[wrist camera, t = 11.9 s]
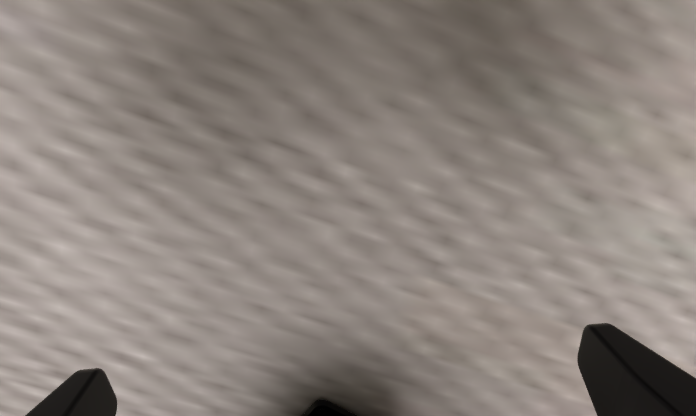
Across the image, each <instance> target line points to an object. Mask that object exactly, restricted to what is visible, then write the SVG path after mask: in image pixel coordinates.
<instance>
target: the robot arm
mask: <svg viewBox="0 0 696 416" xmlns="http://www.w3.org/2000/svg"><path fill="white" fill-rule="evenodd" d="M578 366H579V369H580V372H581V374H582V377H583V380H584V382H585V385H586V387H587V390H588V393H589V395H590V398H591V400H592V403H593V406H594V408H595V411H596V413H597V416H696V378H694V377H693V376H691V375H690V374H688V373H687V372H685V371H683V370H682V369H680V368H679V367H677V366H676V365H674V364H673V363H671V362H669V361H668V360H666V359H665V358H663V357H662V356H660V355H658V354H657V353H655V352H654V351H652V350H651V349H649V348H647V347H646V346H644V345H643V344H641V343H640V342H638V341H637V340H635V339H633V338H632V337H630V336H629V335H627V334H626V333H624V332H622V331H621V330H619V329H618V328H616V327H615V326H613V325H611V324H608V323H601V324H590V325H587V326H586V327H585V328H584V330H583V334H582V339H581V343H580V347H579V352H578ZM320 409H324V410H320ZM116 410H117V399H116V395H115V393H114V391H113V389H112V387H111V385H110V382H109V380H108V378H107V376H106V374H105V372H104V371H103V370H102V369H99V368H95V369H84V370H79V371H77V372H75V373H74V374H73V375H72V376H70V377H69V378H68V379H67V380H66V381H65V382H63V383H62V384H61V385H60V386H59V387H58V388H57V389H55V390H54V391H53V392H52V393H51V394H50V395H48V396H47V397H46V398H45V399H44V400H43V401H42V402H40V403H39V404H38V405H37V406H36V407H35V408H33V409H32V410H31V411H30V412H29V413H28V414H27V415H25V416H115V415H116ZM302 416H357V415H355V414H353V413H351V412H349V411H347V410H345V409H343V408H341V407H339V406H337V405H335V404H333V403H331V402H329V401H327V400H317V401H316V402H315V403H314V404H313V405H312V406H311V407H310V408H309V409H308V410H307V411H306V412H305V413H304V414H303V415H302Z"/></svg>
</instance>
